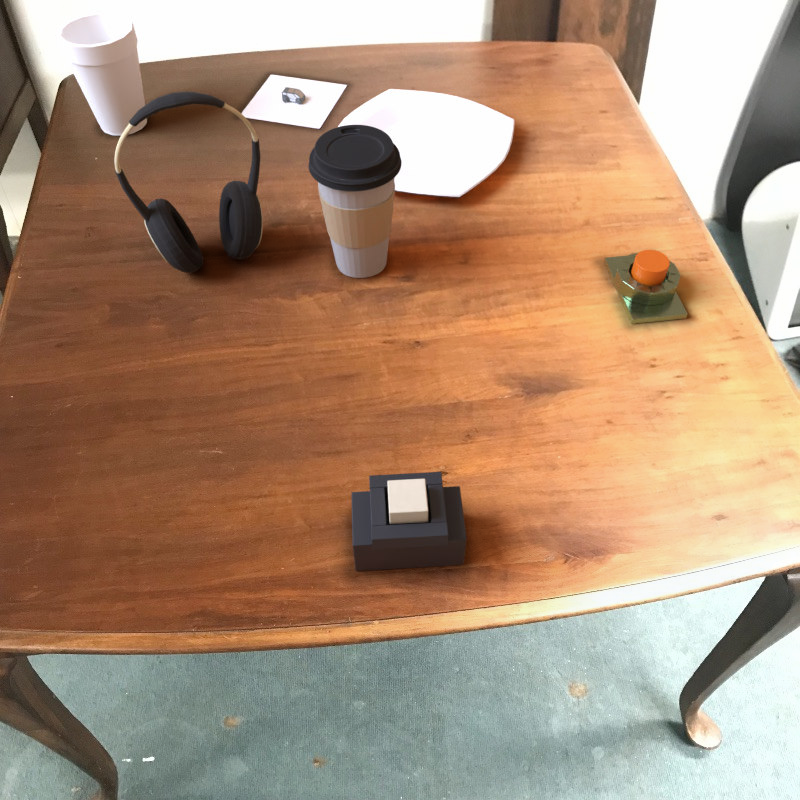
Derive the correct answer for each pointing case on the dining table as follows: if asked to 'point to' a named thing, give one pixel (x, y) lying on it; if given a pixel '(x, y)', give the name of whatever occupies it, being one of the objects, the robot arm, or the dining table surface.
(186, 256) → the headphones
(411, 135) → the plate
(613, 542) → the dining table surface
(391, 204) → the coffee cup
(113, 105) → the foam cup
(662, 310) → the switch block
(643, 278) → the round orange push button
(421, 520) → the key
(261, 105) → the white square card
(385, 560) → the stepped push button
